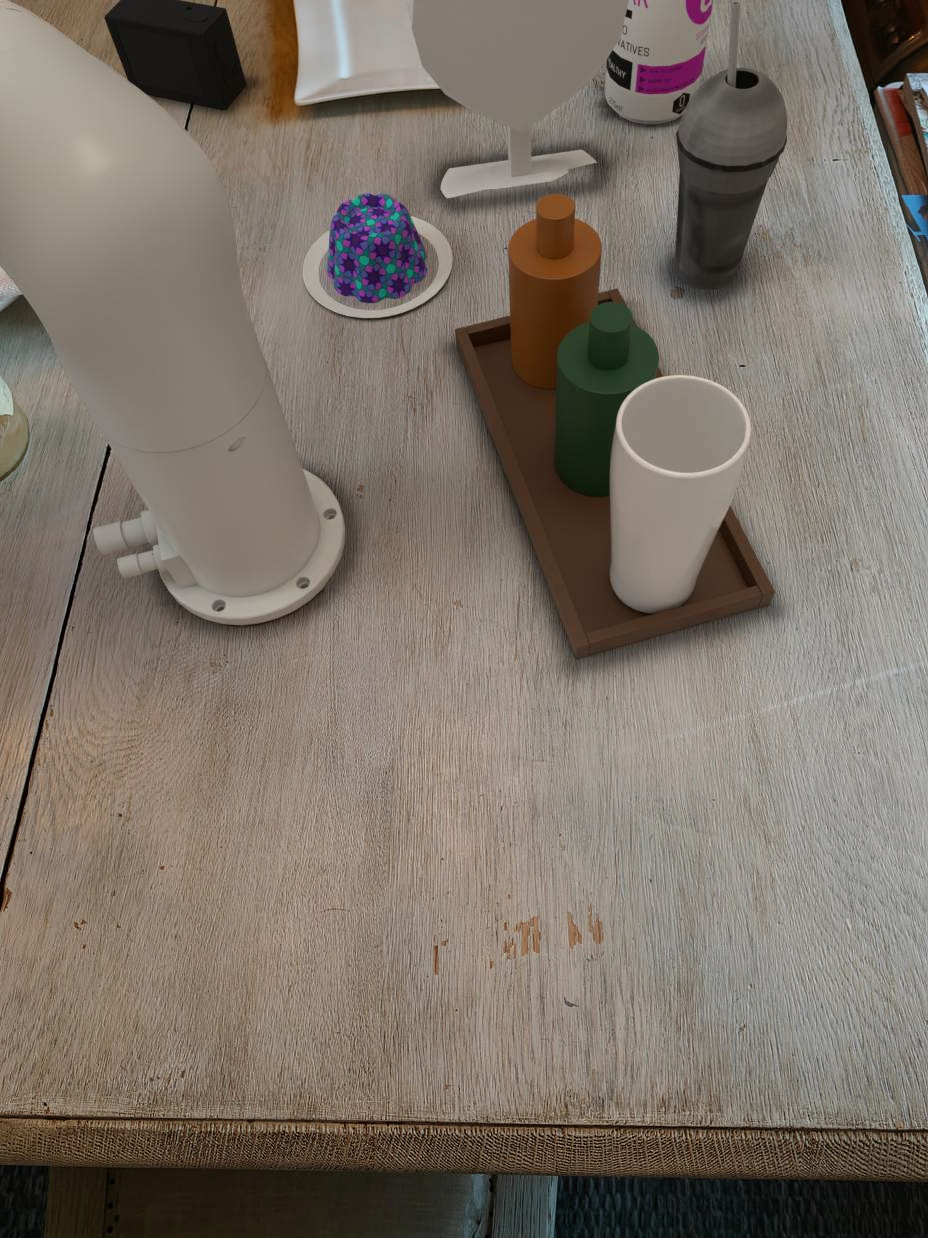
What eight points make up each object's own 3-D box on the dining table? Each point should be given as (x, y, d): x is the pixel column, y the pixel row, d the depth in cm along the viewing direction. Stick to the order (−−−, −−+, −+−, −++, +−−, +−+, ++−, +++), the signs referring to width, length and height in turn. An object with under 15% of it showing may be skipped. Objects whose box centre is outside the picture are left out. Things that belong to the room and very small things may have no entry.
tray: (575, 662, 58) (576, 647, 57) (456, 348, 72) (454, 328, 70) (768, 608, 59) (775, 591, 58) (615, 308, 73) (617, 287, 71)
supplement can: (713, 86, 85) (745, -107, 72) (671, 139, 82) (697, -53, 69) (631, 63, 88) (648, -128, 75) (588, 113, 85) (597, -77, 71)
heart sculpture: (604, 146, 82) (620, -92, 66) (616, 183, 80) (636, -55, 64) (426, 171, 82) (400, -60, 66) (432, 209, 80) (406, -22, 64)
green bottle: (570, 507, 64) (577, 367, 52) (542, 439, 66) (544, 293, 55) (655, 484, 64) (681, 340, 53) (624, 418, 67) (642, 268, 56)
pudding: (476, 295, 74) (472, 239, 70) (330, 344, 73) (317, 290, 68) (422, 204, 80) (415, 146, 76) (286, 247, 79) (271, 191, 74)
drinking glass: (697, 533, 62) (740, 367, 49) (714, 624, 59) (765, 473, 45) (592, 539, 62) (607, 376, 49) (603, 631, 59) (622, 482, 46)
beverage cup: (750, 311, 72) (818, 42, 54) (652, 302, 73) (688, 35, 55) (755, 245, 75) (822, -29, 58) (662, 237, 76) (699, -33, 59)
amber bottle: (525, 398, 68) (523, 248, 57) (501, 340, 71) (494, 187, 60) (605, 377, 69) (618, 225, 57) (578, 320, 72) (585, 165, 60)
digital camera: (254, 76, 91) (234, -1, 84) (226, 110, 88) (203, 33, 82) (161, 58, 93) (135, -18, 87) (132, 91, 91) (103, 14, 85)
